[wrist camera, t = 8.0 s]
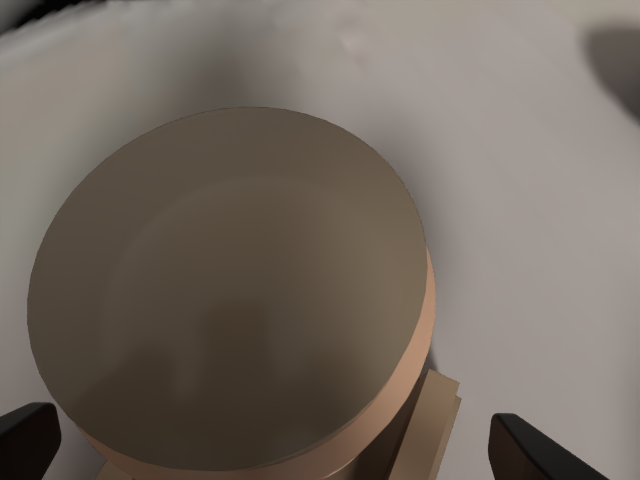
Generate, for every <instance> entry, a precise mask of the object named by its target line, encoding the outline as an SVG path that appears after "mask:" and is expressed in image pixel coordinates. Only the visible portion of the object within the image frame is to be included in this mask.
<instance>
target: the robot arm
mask: <svg viewBox="0 0 640 480" xmlns="http://www.w3.org/2000/svg"><path fill="white" fill-rule="evenodd" d="M60 444H61V430H60V425H59V420H58V415H57V410H56V407H55V405H54V404H52V403H47V402H33V403H30V404H27V405H25V406H23V407H21V408H18V409H16V410H14V411H12V412H10V413H7V414H5V415H3V416H1V417H0V480H42V478H43V476H44V474H45V473H46V471H47V469H48V467H49V465H50V464H51V462H52V460H53V458H54V456H55V455H56V453H57V451H58V449H59V447H60ZM488 456H489V461H490V464H491V468H492V471H493V475H494V478H495V480H609V479H608V478H606V477H605V476H604V475H602V474H601V473H599V472H598V471H596V470H595V469H594V468H592V467H591V466H589V465H588V464H586V463H585V462H584V461H582V460H581V459H579V458H578V457H576V456H575V455H574V454H572V453H571V452H569V451H568V450H566V449H565V448H563V447H562V446H561V445H559V444H558V443H556V442H555V441H553V440H552V439H551V438H549V437H548V436H546V435H545V434H543V433H542V432H541V431H539V430H538V429H536V428H535V427H533V426H532V425H531V424H529V423H528V422H526V421H525V420H523V419H522V418H520V417H519V416H517V415H516V414H513V413H495V414H494V415H493V416H492V419H491V427H490V435H489V444H488Z"/></svg>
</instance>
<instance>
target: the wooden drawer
mask: <svg viewBox="0 0 640 480" xmlns="http://www.w3.org/2000/svg"><path fill="white" fill-rule="evenodd" d="M459 384H460V383H459V382H457V381H455V380H453V379H450V378H448V377H446V376H444V375H442V374H440V373H438V372H436V371H433V370H431V369H429V370H428V371H427V372H426V373H425V374H424V375H423V377H422V378H421V379H420V378H418V379H417V381H416V383H415V385H414V386H413V388H412V390H411V392H410V394H409V396H408V398H407V399H406V401H405V402H404V404H403V405H402V406H401V408H400V409H399V411H398V412H397V413H396V415H395V416H394V417H393V419H392V420H391V422H390V423H389V424H388V425H387V426H386V427H385V428H384V429H383V430H382V431H381V432H380V433H379V434H378V435H377V436H376V437H375V438H374V439H373V441H372V442H371V443H370V444H369V445H368V446H367V447H366V448H365V449H363V450H362V451H361V452H360V453H359V454H358V455H357V456H356V457H355V458H354V459H353V460H352V461H351V462H350V463H349V464H348V465H347V466H346V467H344V468H343V469H342V470H341V471H339V472H337V473H336V474H334V475H332V476H330V477H327V478H325V479H322V480H436V477H437V474H438V471H439V468H440V464H441V461H442V458H443V455H444V452H445V449H446V446H447V443H448V440H449V436H450V433H451V430H452V427H453V424H454V421H455V418H456V415H457V412H458V409H459V405H460V402H461V398H459V397H457V396H456V393H457V390H458V387H459ZM94 480H136V479H134V478H133V477H131V476H130V475H128V474H126V473H125V472H123V471H122V470H120V469H119V468H117V467H115V466H114V465H113V464H112V463H110V462H109V461H108V460H107V461H106V462H105V464H104V466H103V467H102V469H101V470H100V472H99V473H98V475H97V476H96V478H95V479H94Z"/></svg>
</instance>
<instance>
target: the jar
mask: <svg viewBox="0 0 640 480" xmlns="http://www.w3.org/2000/svg"><path fill="white" fill-rule="evenodd" d="M435 307H436V292H435V280H434V272H433V268H432V264H431V259H430V255H429V251H428V249H427V246H426V241H425V237H424V232H423V228H422V223H421V220H420V217H419V214H418V212H417V209H416V207H415V204H414V201H413V199H412V198H411V196H410V194H409V192H408V190H407V189H406V187H405V185H404V183H403V182H402V180H401V179H400V178H399V176H398V175H397V174H396V172H395V171H394V170H393V168H392V167H391V166H390V165H389V164H388V163H387V162H386V161H385V160H384V159H383V158H382V157H381V156H380V155H379V154H378V153H377V152H376V151H375V150H374V149H373V148H371V147H370V146H369V145H367V144H366V143H365V142H364V141H362V140H361V139H360V138H358V137H356V136H355V135H353V134H351V133H350V132H348V131H346V130H345V129H343V128H341V127H339V126H337V125H334V124H332V123H330V122H328V121H326V120H323V119H320V118H317V117H314V116H311V115H308V114H304V113H299V112H295V111H290V110H285V109H276V108H267V107H239V108H227V109H219V110H214V111H208V112H203V113H199V114H195V115H191V116H188V117H184V118H181V119H178V120H176V121H173V122H170V123H167V124H165V125H162V126H160V127H158V128H156V129H154V130H152V131H150V132H147V133H145V134H143V135H141V136H140V137H138V138H136V139H135V140H133V141H131V142H130V143H128V144H126V145H125V146H123V147H122V148H120V149H119V150H117V151H116V152H115V153H113V154H112V155H111V156H109V157H108V158H107V159H105V160H104V161H103V162H102V163H101V164H100V165H98V166H97V167H96V168H95V169H94V170H93V171H92V172H91V173H89V174H88V175H87V176H86V178H85V179H84V180H83V181H82V182H81V183H80V184H79V185H78V186H77V187H76V188H75V190H74V191H73V192H72V193H71V194H70V196H69V197H68V198H67V200H66V201H65V203H64V204H63V205H62V207H61V208H60V209H59V211H58V212H57V214H56V216H55V218H54V219H53V221H52V223H51V224H50V226H49V228H48V230H47V232H46V234H45V236H44V239H43V241H42V243H41V245H40V248H39V250H38V252H37V256H36V259H35V263H34V266H33V270H32V273H31V278H30V285H29V292H28V299H27V325H28V331H29V337H30V344H31V349H32V352H33V355H34V358H35V361H36V364H37V367H38V370H39V373H40V375H41V377H42V379H43V381H44V382H45V384H46V386H47V388H48V390H49V392H50V394H51V395H52V397H53V398H54V399H55V401H56V402H57V403H58V404H59V406H60V407H61V408H62V409H63V411H64V412H65V413H66V415H67V416H68V417H69V418H70V419H71V420H72V421H74V422H75V424H76V425H77V427H78V428H79V429H80V431H81V432H82V433H83V435H84V436H85V437H86V438H87V440H88V441H89V442H90V443H91V445H92V446H93V447H94V448H95V449H96V450H97V451H98V452H99V453H100V454H102V455H103V456H104V457H105V458H106V459H107V460H108V461H109V462H110V463H112V464H113V465H114V466H115V467H117V468H119V469H120V470H122V471H123V472H125V473H126V474H128V475H130V476H131V477H133V478H134V479H136V480H322V479H325V478H327V477H330V476H332V475H334V474H336V473H337V472H339V471H341V470H342V469H343V468H344V467H346V466H347V465H348V464H349V463H350V462H351V461H352V460H353V459H354V458H355V457H356V456H357V455H358V454H359V453H360V452H361V451H362V450H363V449H365V448H366V447H367V446H368V445H369V444H370V443H371V442H372V441H373V439H374V438H375V437H376V436H377V435H378V434H379V433H380V432H381V431H382V430H383V429H384V428H385V427H386V426H387V425H388V424H389V423H390V422H391V420H392V419H393V417H394V416H395V415H396V413H397V412H398V411H399V409H400V408H401V406H402V405H403V404H404V402H405V401H406V399H407V398H408V396H409V394H410V392H411V390H412V388H413V386H414V385H415V383H416V381H417V379H418V377H419V375H420V373H421V370H422V367H423V365H424V362H425V359H426V356H427V354H428V351H429V347H430V343H431V338H432V333H433V328H434V323H435Z"/></svg>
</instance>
